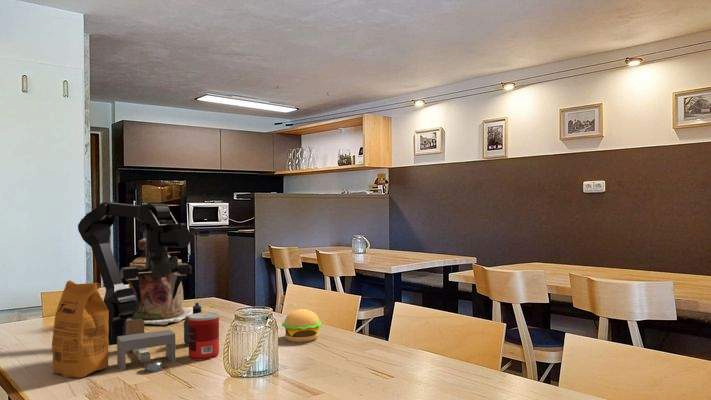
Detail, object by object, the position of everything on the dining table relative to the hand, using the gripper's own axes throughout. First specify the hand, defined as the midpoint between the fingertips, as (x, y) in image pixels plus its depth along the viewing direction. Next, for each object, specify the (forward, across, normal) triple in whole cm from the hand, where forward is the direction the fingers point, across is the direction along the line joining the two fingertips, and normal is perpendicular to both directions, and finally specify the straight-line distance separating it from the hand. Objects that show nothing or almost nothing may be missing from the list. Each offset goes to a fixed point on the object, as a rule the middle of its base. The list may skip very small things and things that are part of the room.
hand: (156, 300), depth 148 cm
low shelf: (+13, -6, -15) cm, 21 cm away
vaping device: (+13, +9, -4) cm, 17 cm away
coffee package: (+13, -21, -13) cm, 28 cm away
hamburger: (+13, +38, -16) cm, 44 cm away
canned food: (+13, +8, -18) cm, 24 cm away
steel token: (+13, -6, -23) cm, 27 cm away
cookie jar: (+13, +8, +40) cm, 43 cm away
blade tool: (+13, -6, -6) cm, 16 cm away
